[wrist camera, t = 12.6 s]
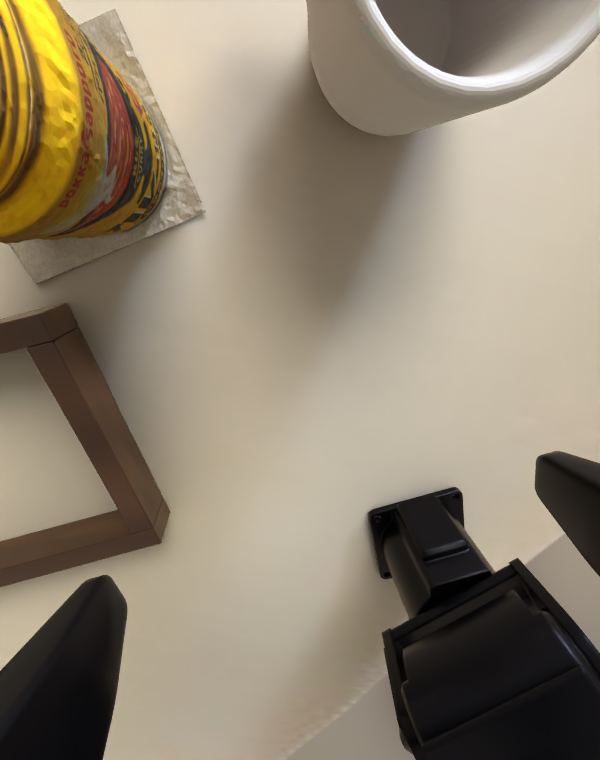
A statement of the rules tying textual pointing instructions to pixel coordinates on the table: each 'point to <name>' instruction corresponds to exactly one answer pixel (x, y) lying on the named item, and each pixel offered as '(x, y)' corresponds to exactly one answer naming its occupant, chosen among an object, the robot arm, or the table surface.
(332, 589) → the table surface
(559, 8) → the cup
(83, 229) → the condiment
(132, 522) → the holder
